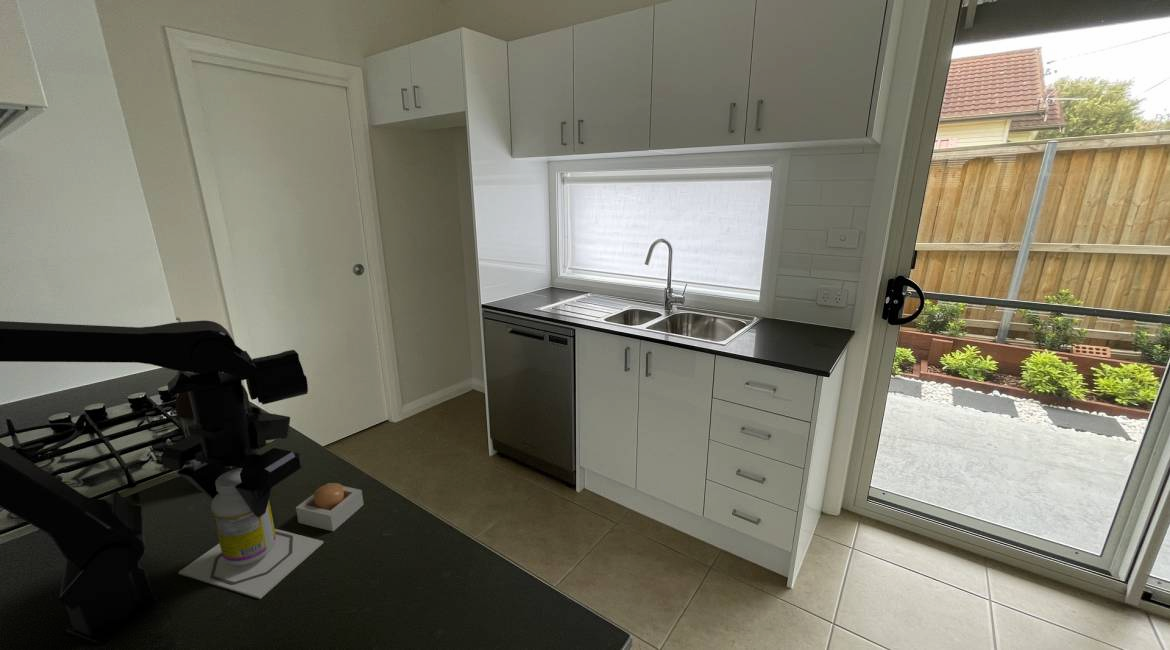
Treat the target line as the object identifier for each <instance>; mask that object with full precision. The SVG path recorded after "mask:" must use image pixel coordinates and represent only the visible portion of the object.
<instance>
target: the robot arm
mask: <svg viewBox="0 0 1170 650" xmlns="http://www.w3.org/2000/svg"><path fill="white" fill-rule="evenodd" d="M0 362H1V363H3V362H4V363H5V362H6V363H7V362H9V363H11V362H13V363H16V362H19V363H24V362H25V363H26V362H27V363H33V362H34V363H131V364H132V363H134V364H135V363H139V364H145V365H152V366H157V367H160V368H163V369H164V368H165V369H168V370H172V371H177V373H176V375H175V376H174V378H172V379H171V380H169V382H167V384H166V385H167V390H168V394H169V395H170V396H176V395H178V394H181V393H185V392H188V394H189V398H190V402H191V406H192V410H193V415H194V419H195V423H196V424H194V425H192V426H190V427H188V429H189V433H190V434H192V436H190V437H187V438H185V437H184V438H183V439H181V440H179V441H176V442H174V443H172V444H170V445H168V446H166V447H165V449H164V451H163V452H162V454H161V455H160V458H161V462H162V465H163V468H164V469H168V470H172V471H177V474H178V476H181V477H183V479H185V480H186V481H188V482H189V483H190V484H192V485H193V486H194V487H195V488H197V489H198V490H199V491H200V492H201V493H203V495H205V496H206V497H207V498H208V499H210V500H211V502H212V501H213V499H214V497H215V496H216V495H217V494H218V492H217V490H216V485H215V481H216V480H217V478H218V477H219V476H221V475H222V474H224V473H226V468H234V467H239V468H243V469H242V471H241V473H240V478H241V481H242V482H241V483H240V484H238V485H236V486H235V488H236V489H237V490H238V492H239V493H240V495H241V496H242V498H243V499H244V500H245V502H246V503H247V505H248V506H249V508H250V509H251V510H252V512H253V513H254V514H255V515H256V517H261V516H262V515H263V514H265V512H266V508H267V504H268V500H269V501H270V496H271V492H272V488H273V487H275V486H276V485H277V484H279V483H281V482H282V481H284V480H285V479H287V478H288V477H290V476H291V475H293V474H295V473H296V472H298V471H299V470H300V469H302V462H301V457H300V454H299V453H297V452H296V451H291V450H287V449H282V448H277V447H273V448H271V449H269V450H268V451H266V452H264V453H262V454H258V453H257V454H255V453H254V450H255V449H256V450H261V449H262V448H263V447H265V446H267V441H270V440H277V439H282V440H283V439H287V438H288V437H289V428H290V424H291V423H290V422H291V417H290V416H287V415H281V414H277V413H268V412H262V411H261V409H260V408H259V407H256V406H251V405H250V406H249V407H246V402H245V397H244V392H243V387H242V385H243V383H242V381H246V387H247V392H248V394H249V395H248V396H249V397H250V399H251V401H253V400H256V399H257V401H258V403H259V404H260V403H261V404H262V405H267V404H272V403H275V402H279V401H283V400H288V399H292V398H297V397H300V396H305V395H307V394H308V391H309V386H308V385H309V384H308V378H307V376H306V375H305V372H304V370H303V367H302V366H303V365H302V364H301V361H300V357H299V353H298V351H296V350H295V349H290V350H285V351H283V352H280V353H276V354H275V353H274V354H270V355H266V356H259V357H255V358H252V357H251V356H250V354H249V353H248V351H247V350H243V349H242V348H241V347H240V346H238V345H236V342H235V341H234V339H233V338H232V336H231V335H230V333H229V330H227V329H226V328H225V327H224V326H223V325H222V324H220V323H218V322H215V321H212V320H192V321H177V322H169V323H165V324H158V325H153V326H142V327H138V326H116V325H115V326H114V325H98V324H97V325H95V324H74V323H72V324H71V323H52V322H50V323H49V322H48V323H45V322H26V321H7V320H6V321H5V320H3V321H1V320H0ZM219 371H220V372H223V373H218V372H219ZM0 508H1V509H3V510H5V511H6V512H8V513H10V514H12V515H13V516H16V517H17V518H19V519H21V520H22V521H25V522H26V523H28V524H30V525H31V526H33V527H34V528H37V529H39V530H40V531H43V532H44V533H46V534H47V535H48V536H49V537H50V538H51V540H53V542H54V543H55V545H56V546H57V548H58V550H59V551H60V552H61V555H63V557H64V558H65V566H64V571H63V576H62V582H61V588H60V594H59V599H58V600H59V602H61V603H62V604H63V605H64V606H65V609H66V612H67V614H68V616H69V619H70V623H69V624H68V625H67V626H66V627H65V631H66V632H67V633H70V634H72V635H74V636H78V637H80V638H83V639H85V640H88V641H90V642H93V643H96V644H99V643H100V644H103V643H105V642H107V641H108V640H109V639H110V638H112V637H113V636H114V635H117V633H119V632H120V631H121V630H123V629H125V627H127V626H128V625H130V624H131V623H132V622H134V621H135V620H136V619H138V618H139V617H141V616H142V615H143V614H144V613H146V612H147V611H149V610H150V609H151V608H152V607H154V606H156V605H157V604H158V602H159V601H158V598H157V597H155V596H152V595H151V593H152V588H151V586H150V585H151V584H150V582H149V579H148V575H147V572H146V569H145V568H144V567H141V566H139V563H138V562H139V561H140V559H141V558H142V557H143V555H144V553H145V548H146V545H145V537H146V536H145V522H144V521H145V519H144V518H143V517H144V516H143V515H142V506H140V505H137V504H133V503H131V502H129V501H128V500H127V499H125V498H124V497H123V496H122V494H120V493H119V492H118V491H113V493H111V494H110V495H109V496H108V497H107V498H106V499H101V498H93V497H88V496H86V495H84V494H82V493H81V492H80V491H77V490H76V489H74V488H73V487H71V486H70V485H68V484H66V483H65V482H63V481H62V480H60V479H58V478H57V477H55V476H54V475H52V474H51V473H49V472H48V471H46V470H44V469H43V468H41V467H40V466H38V465H37V464H35V463H33V461H31V460H28V459H27V458H26V457H24V456H23V455H21V454H19V452H16V451H15V450H13V449H11V448H10V447H8V446H7V445H5V444H4V443H2V442H1V441H0ZM100 644H99V645H100Z"/></svg>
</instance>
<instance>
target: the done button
mask: <svg viewBox="0 0 1170 650" xmlns="http://www.w3.org/2000/svg"><path fill="white" fill-rule="evenodd" d="M329 483H330V482H329ZM343 486H344V485H342V484H341V483H337V482H331V483H330V484H328V483H327V484H324V485H322V486H320V487H318V488H316V489H315V491H313V494H312V495H314V501H315V507H317V508H321V509H325V510H329V511H331V510H332V509H333V508H334V507H335V506H337V505H338V504H339V503H340V502H342V501H343V500H344V499H345V498H344V491H343Z"/></svg>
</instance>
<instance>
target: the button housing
mask: <svg viewBox="0 0 1170 650" xmlns="http://www.w3.org/2000/svg"><path fill="white" fill-rule="evenodd" d="M327 484H330V482H328V483H327ZM342 486H343V491H344V498H345V499H344V500H343V501H342V502H340V503H339V504H338V505H337V506H335V507H334V508H333V509H332V510H331V511H329V510H325V509H321V508H317V507H315V501H314V495H313V494H312V495H311V496H308V498H307V499H305V500H304V501H302V502H301V503H300V504H299V505H297V506H296V507H295V510H296V511H295V512H296V515H297V521H298V523H299V524H302V525H306V526H311V527H314V528H318V529H320V530H321V529H323V530H326V531H330V532H335V530H337V529H338V528H339V527H340V526H341V525H342V524H343V523H345V521H347V520H348V519H350V517H352V516H353V515H354V514H355V513H356V512H357V511H358V510H359V509H361V508H362V506H364V499H363V498H364V497H363V490H362V489H359V488H355V487H349V486H345V485H342Z"/></svg>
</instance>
